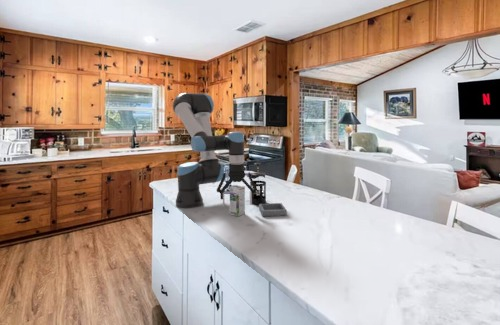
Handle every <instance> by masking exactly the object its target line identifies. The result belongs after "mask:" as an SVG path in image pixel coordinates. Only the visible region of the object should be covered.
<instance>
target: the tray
mask: <svg viewBox="0 0 500 325" xmlns="http://www.w3.org/2000/svg"><path fill="white" fill-rule="evenodd" d="M258 210H259V212H260V214H261V217H262V218H267V217H268V218H269V217H270V218H271V217H287V216H288V215H287V212H288V211H287V209H286V207H285V206H284V205H283V203H282V202H278V203H277V202H276V203H274V202H273V203H272V202H271V203H266V204H259V205H258Z"/></svg>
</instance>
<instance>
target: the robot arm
mask: <svg viewBox="0 0 500 325" xmlns="http://www.w3.org/2000/svg"><path fill="white" fill-rule="evenodd" d="M214 104H215V102H214V100H213V98H212V96H211V95H209V93H202V92H201V93H196V92H195V93H193V92H182V93H180V94H178V95H177V96H175V98H174V100H173V102H172V110H173V112H174V114H175V115H176V117H179V119H180V121H181V122H182V124H183V126H184V127H185V130H186V131H187V132H188V134H189V136H190V137H191V139H190V146H191V149H192V151H193V152H199V153H200V159H199V161H198V162H197V161H191V162H189V161H188V162H184V163H181V164H179V165H178V167H177V172H176V175H177V187H178V188H177V190H178V192H177V195H176V198H175V206H176V207H178V208H183V209H185V208H187V209H188V208H195V207H199V206H202V205H203V204H204V200H203V197H202V193H201V191H200V186H201V185H206V184H214V183H219V184H218V186H217V188H216V192H217V193H220V200H222V206H223V207H225V190H226V189H227V188H228V187H230V185H231V183H241V182H242V183H243V184H244V185H245V187H247V188H248V190H251V191H249V205H250V206H252V205H253V204H252V198H254V191H257V190H258V187H257V188H256V186H255V184H254V182H253V181H254V179H253V178H251V173H252V172H250V171H249V172H245V135H244V132H243V131H230V132H228V134H219V135H213V132H212V126H211V120H210V117H212V113H213V112H214V106H215V105H214ZM215 151H228V163H229V164H228V173H226V172H225V167H224V164H223V162H221V161H220V160H219V158H218V157H217V156H216V152H215ZM227 177H229V179H228V180H227V182H226V183H225V185H224V186H223V184H224V182H225V180H226V179H227ZM245 177H246V178H248V179H249V181H250V182H251V183H252V185H253V187H254V188H252V187H251V186H250V183H248V182H247V181H246V180H245Z"/></svg>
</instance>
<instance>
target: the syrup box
mask: <svg viewBox="0 0 500 325" xmlns="http://www.w3.org/2000/svg"><path fill="white" fill-rule="evenodd" d="M245 194H246V185H245V186H243V185H238V184H233V185H229V215H231V216H234V217H235V216H236V217H240V216H242V215H244V214H246V211H245V210H246V201H245V200H246V197H245V196H246V195H245Z"/></svg>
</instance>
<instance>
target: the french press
mask: <svg viewBox="0 0 500 325" xmlns="http://www.w3.org/2000/svg"><path fill="white" fill-rule="evenodd" d="M254 165H256V167H257V168H259V167H260V165H262V163H261V162H256V163H255V162H254ZM250 173H251V178H252V180H253V182H254V184H255V186H256V188H257V191H254V198H252V205H254V206H259V204H267V197H266V196H267V194H266V192H267V191H266V187H267V182H266V181H264V180H257V179H258V178H259V177H263V178H264V179H266V175H267V173H265V172H259V171H257V172H250ZM249 185H250V186H251V187H252V188H254V187H253V185H252V183H251V181H250V183H249ZM258 187H259V189H258ZM249 190H250V189H249ZM250 191H251V190H250ZM250 191H249V192H250Z"/></svg>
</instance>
